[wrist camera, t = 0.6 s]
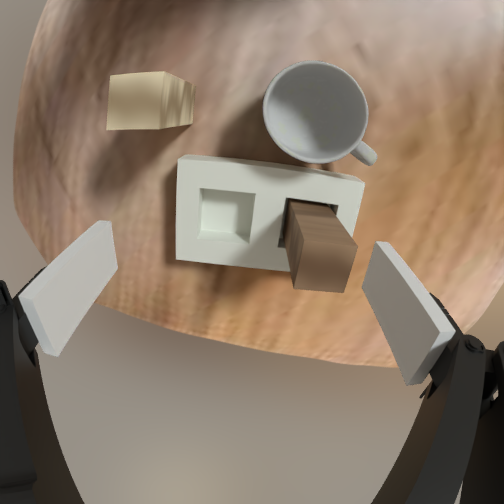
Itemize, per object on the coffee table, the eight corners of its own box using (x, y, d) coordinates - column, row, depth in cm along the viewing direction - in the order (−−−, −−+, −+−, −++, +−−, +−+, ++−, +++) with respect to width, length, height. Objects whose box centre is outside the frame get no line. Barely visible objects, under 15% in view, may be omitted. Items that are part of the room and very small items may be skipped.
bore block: (186, 154, 34) (178, 159, 31) (354, 176, 35) (365, 183, 31) (182, 245, 40) (175, 259, 36) (334, 262, 41) (340, 276, 37)
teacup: (242, 109, 32) (239, 107, 24) (306, 55, 28) (320, 40, 21) (317, 188, 36) (332, 207, 29) (377, 137, 33) (405, 145, 25)
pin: (158, 86, 30) (110, 75, 18) (196, 85, 30) (164, 71, 19) (154, 123, 32) (106, 130, 21) (192, 123, 32) (158, 129, 21)
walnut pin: (288, 197, 36) (304, 239, 24) (326, 202, 36) (357, 246, 24) (282, 233, 38) (293, 288, 26) (318, 237, 38) (343, 293, 26)
